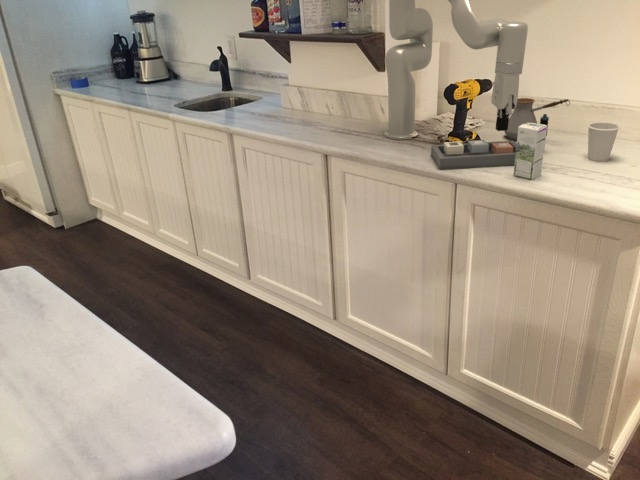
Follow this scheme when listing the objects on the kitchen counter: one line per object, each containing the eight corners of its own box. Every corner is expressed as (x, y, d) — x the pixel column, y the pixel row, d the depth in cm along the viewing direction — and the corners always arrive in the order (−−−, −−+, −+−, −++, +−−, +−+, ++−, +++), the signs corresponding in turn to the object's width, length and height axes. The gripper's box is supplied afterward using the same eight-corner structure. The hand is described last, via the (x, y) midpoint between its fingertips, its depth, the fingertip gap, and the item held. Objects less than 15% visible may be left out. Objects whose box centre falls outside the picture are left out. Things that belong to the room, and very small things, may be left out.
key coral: (491, 150, 169) (492, 143, 168) (507, 149, 169) (508, 142, 168) (496, 155, 164) (496, 147, 163) (512, 154, 164) (513, 146, 163)
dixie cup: (604, 164, 157) (610, 131, 153) (577, 158, 163) (582, 126, 159) (619, 158, 161) (625, 125, 157) (592, 152, 167) (597, 120, 163)
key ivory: (443, 149, 169) (443, 141, 168) (459, 148, 169) (460, 140, 168) (446, 154, 164) (447, 146, 163) (463, 153, 164) (463, 145, 163)
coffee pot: (496, 138, 187) (500, 94, 181) (515, 131, 194) (520, 88, 187) (553, 150, 172) (559, 102, 165) (572, 142, 178) (579, 96, 171)
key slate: (467, 148, 169) (468, 140, 167) (483, 147, 168) (484, 139, 167) (471, 153, 164) (472, 144, 163) (488, 152, 164) (488, 143, 163)
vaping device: (543, 153, 169) (548, 115, 164) (526, 151, 172) (530, 114, 167) (545, 151, 171) (550, 113, 166) (529, 149, 174) (533, 112, 169)
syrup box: (541, 174, 153) (548, 124, 146) (531, 180, 149) (537, 129, 143) (523, 170, 157) (528, 121, 150) (512, 176, 153) (517, 125, 147)
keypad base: (431, 155, 174) (431, 145, 173) (511, 151, 174) (512, 140, 172) (439, 169, 162) (440, 158, 160) (526, 164, 161) (528, 153, 160)
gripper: (488, 63, 162) (482, 123, 171) (503, 73, 149) (496, 137, 158) (513, 62, 162) (506, 122, 171) (530, 72, 149) (521, 136, 157)
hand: (501, 129), depth 164 cm, fingers closed
